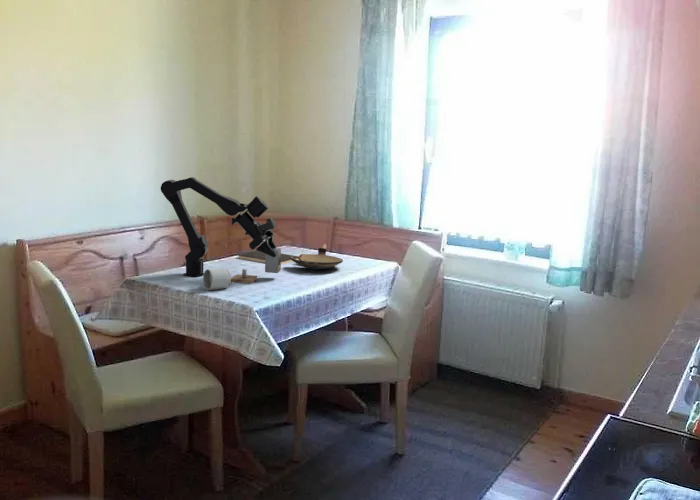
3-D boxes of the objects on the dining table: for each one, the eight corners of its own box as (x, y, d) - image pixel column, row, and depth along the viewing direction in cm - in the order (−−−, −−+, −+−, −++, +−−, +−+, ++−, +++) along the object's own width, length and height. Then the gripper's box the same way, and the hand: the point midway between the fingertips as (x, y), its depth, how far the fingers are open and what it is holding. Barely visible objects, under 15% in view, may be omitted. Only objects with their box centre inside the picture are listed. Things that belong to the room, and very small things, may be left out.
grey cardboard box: (264, 272, 263) (264, 249, 261) (267, 269, 268) (267, 247, 266) (278, 273, 262) (278, 250, 261) (281, 270, 267) (281, 248, 266)
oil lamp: (278, 269, 283) (278, 251, 281) (316, 259, 309) (316, 242, 307) (323, 277, 272) (324, 258, 271) (359, 265, 298) (359, 248, 297)
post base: (231, 281, 258) (231, 271, 257) (237, 277, 265) (237, 266, 265) (251, 283, 257) (251, 272, 256) (256, 278, 264) (257, 268, 264)
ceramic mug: (232, 289, 246) (232, 269, 245) (211, 292, 241) (211, 271, 240) (218, 284, 254) (218, 264, 253) (198, 286, 249) (198, 266, 248)
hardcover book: (278, 266, 291) (278, 261, 290) (237, 259, 302) (237, 254, 302) (300, 261, 304) (300, 256, 304) (260, 254, 316) (260, 249, 315)
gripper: (258, 215, 252) (285, 246, 253) (270, 209, 271) (296, 238, 271) (237, 234, 255) (265, 265, 255) (250, 227, 273) (276, 256, 274)
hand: (276, 255), depth 264 cm, fingers closed on grey cardboard box, 5 cm apart
